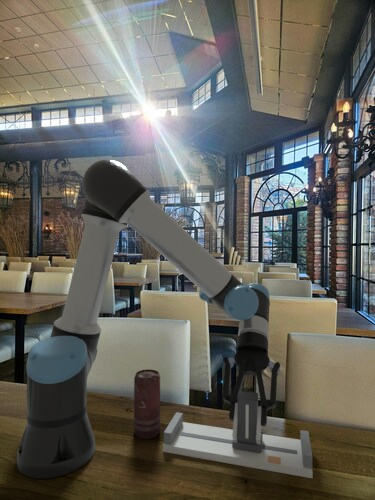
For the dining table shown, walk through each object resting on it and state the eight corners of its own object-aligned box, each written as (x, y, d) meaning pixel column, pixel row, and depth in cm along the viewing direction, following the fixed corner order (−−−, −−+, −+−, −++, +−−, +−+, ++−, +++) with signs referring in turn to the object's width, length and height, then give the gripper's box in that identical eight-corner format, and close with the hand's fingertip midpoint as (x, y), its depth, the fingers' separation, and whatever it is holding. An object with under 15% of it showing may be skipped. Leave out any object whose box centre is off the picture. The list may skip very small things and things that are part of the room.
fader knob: (232, 447, 69) (232, 399, 69) (235, 434, 74) (235, 389, 74) (261, 452, 67) (261, 402, 67) (262, 438, 72) (262, 392, 72)
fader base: (163, 451, 70) (163, 433, 70) (176, 427, 80) (177, 411, 80) (312, 478, 62) (312, 457, 62) (307, 447, 72) (308, 430, 72)
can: (156, 441, 74) (157, 379, 74) (130, 437, 75) (130, 376, 75) (164, 427, 80) (164, 369, 80) (139, 424, 81) (139, 367, 81)
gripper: (287, 348, 83) (289, 452, 67) (221, 342, 88) (207, 439, 72) (288, 332, 78) (290, 441, 62) (217, 327, 83) (202, 427, 67)
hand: (246, 439), depth 67 cm, fingers closed on fader knob, 4 cm apart
